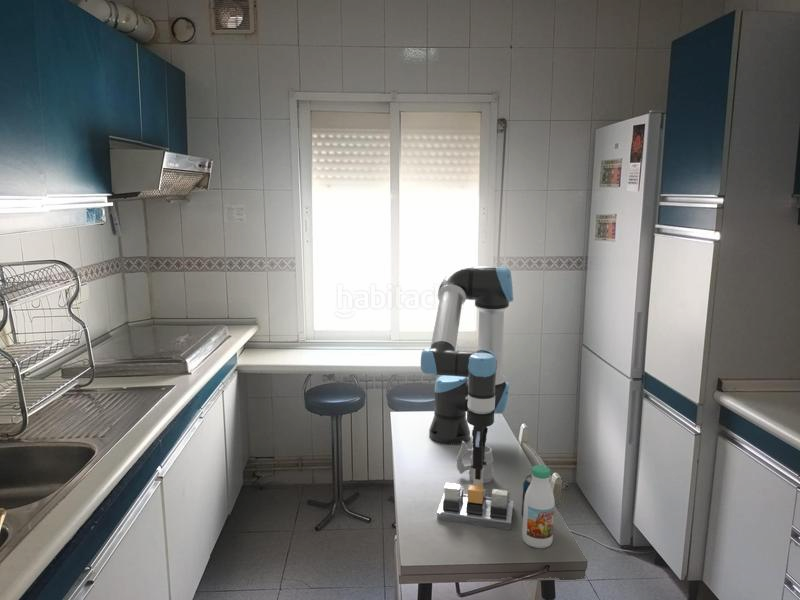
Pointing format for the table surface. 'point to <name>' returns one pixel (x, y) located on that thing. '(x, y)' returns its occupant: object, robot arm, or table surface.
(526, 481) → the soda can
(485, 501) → the breaker panel
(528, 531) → the milk bottle
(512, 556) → the table surface
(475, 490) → the toggle
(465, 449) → the mug
